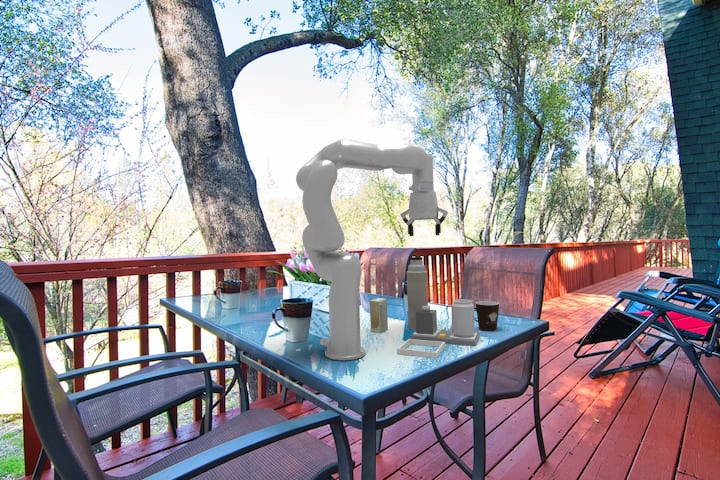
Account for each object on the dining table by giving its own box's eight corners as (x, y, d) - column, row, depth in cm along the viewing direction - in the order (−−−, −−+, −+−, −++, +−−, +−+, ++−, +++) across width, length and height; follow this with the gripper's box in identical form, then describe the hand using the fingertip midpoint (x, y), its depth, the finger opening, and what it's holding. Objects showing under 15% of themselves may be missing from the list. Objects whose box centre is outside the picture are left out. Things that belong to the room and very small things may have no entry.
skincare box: (379, 328, 148) (378, 297, 148) (388, 329, 146) (387, 298, 146) (369, 332, 143) (369, 300, 143) (379, 333, 141) (378, 301, 141)
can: (475, 338, 124) (474, 302, 124) (452, 337, 125) (451, 301, 125) (473, 332, 131) (472, 298, 131) (451, 332, 133) (450, 298, 133)
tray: (397, 353, 115) (397, 348, 115) (409, 343, 126) (408, 338, 126) (436, 358, 110) (436, 352, 110) (445, 346, 121) (445, 341, 121)
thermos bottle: (426, 325, 151) (425, 256, 151) (430, 330, 143) (428, 257, 143) (407, 325, 151) (405, 256, 151) (409, 330, 143) (407, 257, 143)
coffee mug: (497, 326, 146) (496, 301, 146) (501, 332, 137) (501, 305, 137) (466, 326, 148) (466, 301, 148) (469, 331, 140) (468, 305, 140)
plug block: (416, 333, 132) (415, 307, 132) (420, 329, 138) (420, 304, 138) (433, 334, 130) (432, 308, 130) (436, 330, 135) (436, 305, 135)
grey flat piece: (409, 340, 130) (409, 333, 130) (419, 332, 141) (418, 325, 141) (475, 346, 121) (475, 339, 121) (479, 336, 132) (479, 330, 132)
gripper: (397, 189, 136) (398, 236, 136) (444, 185, 129) (446, 235, 129) (403, 191, 143) (404, 236, 143) (449, 187, 135) (450, 235, 135)
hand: (424, 235), depth 136 cm, fingers open, 9 cm apart
